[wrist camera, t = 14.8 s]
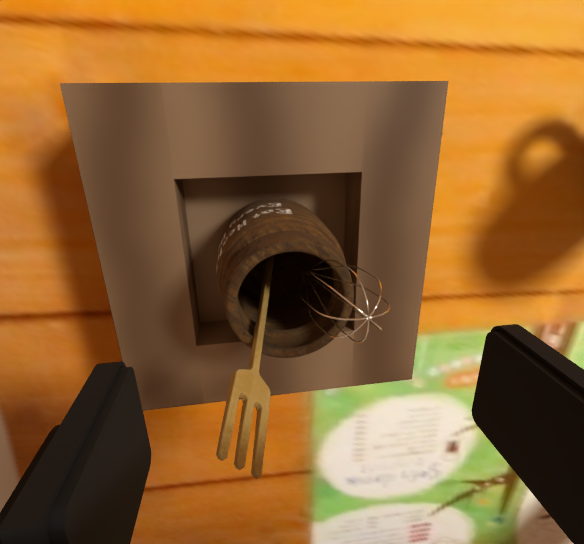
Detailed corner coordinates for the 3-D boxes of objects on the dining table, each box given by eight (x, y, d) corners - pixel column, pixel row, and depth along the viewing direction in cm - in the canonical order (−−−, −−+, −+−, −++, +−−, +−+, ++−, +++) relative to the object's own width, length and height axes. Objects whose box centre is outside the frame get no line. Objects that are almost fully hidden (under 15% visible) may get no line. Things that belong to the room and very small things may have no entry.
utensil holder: (346, 241, 21) (472, 368, 10) (273, 318, 22) (313, 509, 11) (269, 169, 19) (320, 230, 8) (192, 258, 20) (143, 421, 9)
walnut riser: (397, 91, 21) (448, 81, 16) (378, 332, 27) (411, 379, 22) (105, 94, 19) (59, 83, 14) (153, 354, 25) (134, 411, 20)
